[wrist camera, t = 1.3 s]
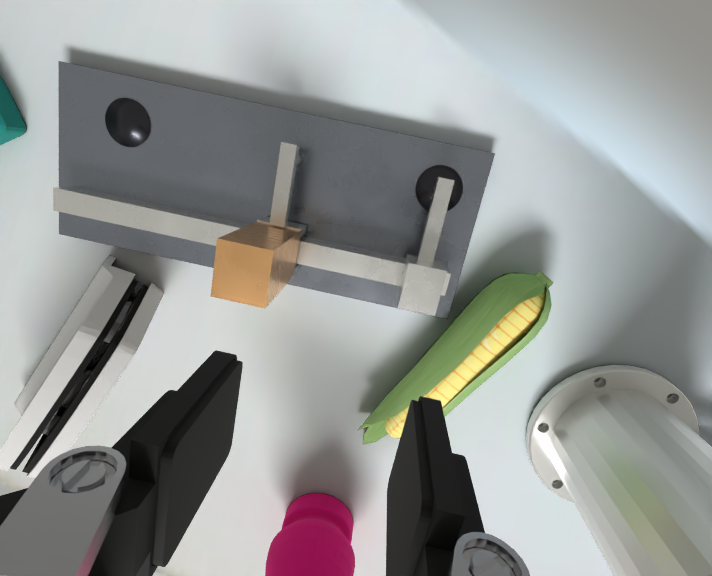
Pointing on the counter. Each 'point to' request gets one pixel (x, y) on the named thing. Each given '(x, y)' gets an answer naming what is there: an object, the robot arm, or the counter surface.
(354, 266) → the gauge beam
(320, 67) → the counter surface
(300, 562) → the pepper mill
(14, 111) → the digital multimeter
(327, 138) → the flange plate
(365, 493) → the counter surface
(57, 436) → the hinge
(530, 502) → the counter surface
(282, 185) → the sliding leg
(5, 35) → the counter surface
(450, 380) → the edible corn
